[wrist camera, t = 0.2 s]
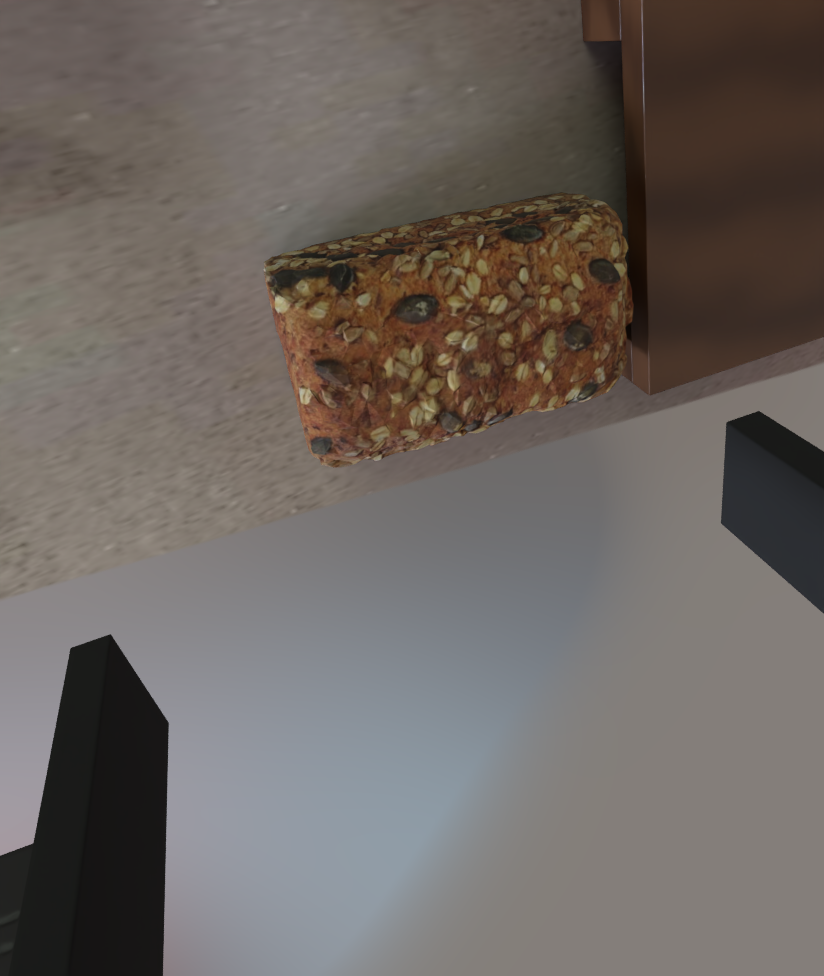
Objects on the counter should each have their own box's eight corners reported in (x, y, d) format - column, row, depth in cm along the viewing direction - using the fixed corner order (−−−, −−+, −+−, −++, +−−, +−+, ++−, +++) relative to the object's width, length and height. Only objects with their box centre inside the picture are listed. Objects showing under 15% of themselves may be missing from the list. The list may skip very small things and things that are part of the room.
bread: (294, 412, 44) (319, 495, 36) (251, 240, 38) (269, 292, 30) (567, 347, 47) (647, 410, 39) (566, 177, 41) (661, 210, 33)
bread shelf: (578, -27, 36) (641, -38, 31) (803, -86, 37) (897, -106, 32) (602, 360, 48) (649, 396, 44) (770, 305, 50) (834, 333, 45)
